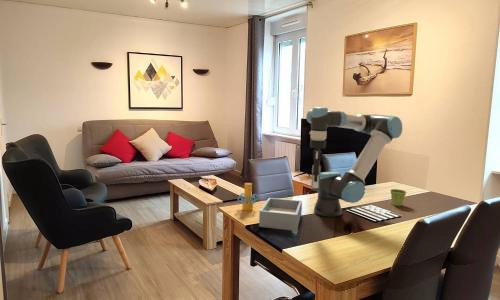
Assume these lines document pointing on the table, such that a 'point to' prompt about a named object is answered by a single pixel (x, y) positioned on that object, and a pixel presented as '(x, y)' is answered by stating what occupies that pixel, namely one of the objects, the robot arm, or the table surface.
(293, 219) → the box
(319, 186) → the peg
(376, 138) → the robot arm
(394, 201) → the plant pot
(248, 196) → the yellow and blue post
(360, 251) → the table surface
